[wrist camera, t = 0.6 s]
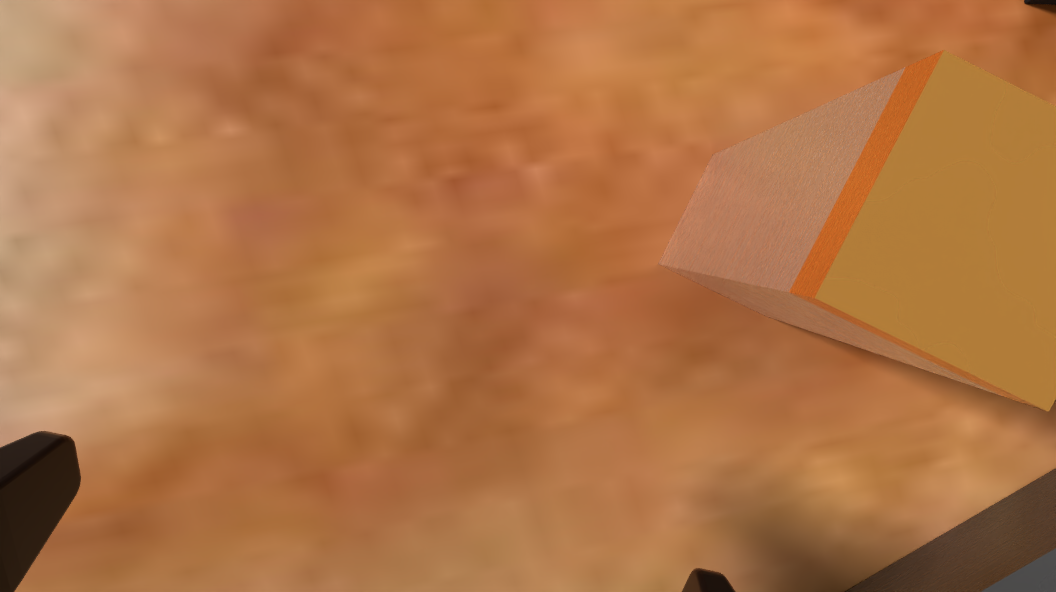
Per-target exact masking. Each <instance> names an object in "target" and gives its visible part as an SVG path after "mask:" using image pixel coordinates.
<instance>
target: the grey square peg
mask: <svg viewBox="0 0 1056 592" xmlns="http://www.w3.org/2000/svg"><path fill="white" fill-rule="evenodd" d="M658 264H659V265H661V266H663V267H665V268H667V269H669V270H671V271H674V272H676V273H678V274H680V275H682V276H684V277H686V278H688V279H690V280H692V281H694V282H696V283H698V284H700V285H702V286H704V287H707V288H709V289H711V290H713V291H715V292H717V293H719V294H721V295H723V296H725V297H727V298H729V299H731V300H733V301H735V302H737V303H740V304H742V305H744V306H746V307H748V308H750V309H752V310H754V311H756V312H758V313H760V314H762V315H764V316H767V317H770V318H773V319H776V320H779V321H782V322H785V323H788V324H791V325H794V326H797V327H800V328H803V329H806V330H809V331H812V332H815V333H817V334H820V335H823V336H826V337H829V338H832V339H835V340H838V341H841V342H844V343H847V344H850V345H853V346H856V347H859V348H862V349H865V350H868V351H871V352H873V353H876V354H879V355H882V356H885V357H888V358H891V359H894V360H897V361H900V362H903V363H906V364H909V365H912V366H915V367H918V368H921V369H924V370H927V371H930V372H932V373H935V374H938V375H941V376H944V377H947V378H950V379H953V380H956V381H959V382H962V383H965V384H968V385H971V386H974V387H977V388H980V389H983V390H986V391H989V392H991V393H994V394H997V395H1000V396H1003V397H1006V398H1009V399H1012V400H1015V401H1018V402H1021V403H1024V404H1027V405H1030V406H1033V407H1036V408H1039V409H1042V410H1045V411H1048V412H1049V410H1050V408H1051V407H1052V405H1053V403H1054V401H1055V400H1056V106H1054V105H1052V104H1050V103H1048V102H1046V101H1044V100H1042V99H1040V98H1038V97H1036V96H1034V95H1032V94H1030V93H1028V92H1026V91H1024V90H1022V89H1020V88H1018V87H1016V86H1015V85H1013V84H1011V83H1009V82H1007V81H1005V80H1003V79H1001V78H999V77H997V76H995V75H993V74H991V73H989V72H987V71H985V70H983V69H981V68H979V67H977V66H975V65H973V64H971V63H969V62H967V61H965V60H963V59H961V58H959V57H957V56H955V55H953V54H951V53H949V52H947V51H945V50H943V51H941V52H938V53H936V54H934V55H932V56H930V57H927V58H925V59H923V60H921V61H919V62H916V63H914V64H912V65H910V66H908V67H905V68H903V69H901V70H899V71H896V72H894V73H892V74H890V75H888V76H885V77H883V78H881V79H879V80H877V81H874V82H872V83H870V84H868V85H866V86H863V87H861V88H859V89H857V90H855V91H852V92H850V93H848V94H846V95H844V96H841V97H839V98H837V99H835V100H833V101H830V102H828V103H826V104H824V105H821V106H819V107H817V108H815V109H813V110H810V111H808V112H806V113H804V114H802V115H799V116H797V117H795V118H793V119H791V120H788V121H786V122H784V123H782V124H780V125H777V126H775V127H773V128H771V129H769V130H766V131H764V132H762V133H760V134H758V135H755V136H753V137H751V138H749V139H746V140H744V141H742V142H740V143H738V144H735V145H733V146H731V147H729V148H727V149H724V150H722V151H720V152H718V153H716V154H713V155H712V157H711V159H710V161H709V163H708V165H707V167H706V169H705V171H704V173H703V175H702V177H701V179H700V181H699V183H698V185H697V187H696V189H695V191H694V193H693V195H692V197H691V199H690V201H689V203H688V205H687V207H686V209H685V211H684V213H683V215H682V217H681V219H680V221H679V223H678V225H677V227H676V229H675V231H674V233H673V235H672V237H671V239H670V241H669V243H668V245H667V247H666V249H665V251H664V253H663V255H662V257H661V259H660V261H659V263H658Z"/></svg>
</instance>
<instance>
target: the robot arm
mask: <svg viewBox="0 0 1056 592" xmlns="http://www.w3.org/2000/svg"><path fill="white" fill-rule="evenodd" d="M80 481H81V475H80V469H79V464H78V458H77V452H76V447H75V443H74V441H73V439H72V438H71V437H69V436H67V435H62V434H57V433H52V432H47V431H40V432H36V433H33V434H31V435H28V436H26V437H24V438H21V439H19V440H17V441H14V442H12V443H10V444H7V445H5V446H3V447H0V592H14V591H15V590H16V588H17V587H18V585H19V584H20V582H21V581H22V579H23V578H24V576H25V575H26V573H27V572H28V570H29V568H30V567H31V565H32V564H33V562H34V561H35V559H36V557H37V556H38V554H39V553H40V551H41V549H42V548H43V546H44V545H45V543H46V542H47V540H48V538H49V537H50V535H51V534H52V532H53V531H54V529H55V527H56V526H57V524H58V523H59V521H60V520H61V518H62V516H63V515H64V513H65V512H66V510H67V508H68V507H69V505H70V504H71V502H72V501H73V499H74V497H75V496H76V494H77V492H78V489H79V486H80ZM682 592H735V590H734V589H733V587H732V586H731V584H730V583H729V581H728V580H727V578H726V577H725V576H724V575H723V574H721V573H719V572H715V571H710V570H705V569H701V568H696V569H694V570H693V571H692V572H691V574H690V576H689V578H688V580H687V582H686V584H685V586H684V588H683V591H682Z"/></svg>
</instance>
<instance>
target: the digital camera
mask: <svg viewBox="0 0 1056 592" xmlns="http://www.w3.org/2000/svg"><path fill="white" fill-rule="evenodd" d="M1024 2H1025V3H1026V4H1051V5H1056V0H1024Z"/></svg>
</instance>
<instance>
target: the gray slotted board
mask: <svg viewBox="0 0 1056 592" xmlns="http://www.w3.org/2000/svg"><path fill="white" fill-rule="evenodd" d="M845 592H1056V469H1054V470H1052V471H1050V472H1049V473H1047V474H1045V475H1044V476H1042V477H1040V478H1038V479H1037V480H1035V481H1033V482H1032V483H1030V484H1028V485H1027V486H1025V487H1023V488H1021V489H1020V490H1018V491H1016V492H1015V493H1013V494H1011V495H1009V496H1008V497H1006V498H1004V499H1003V500H1001V501H999V502H997V503H996V504H994V505H992V506H991V507H989V508H987V509H986V510H984V511H982V512H980V513H979V514H977V515H975V516H974V517H972V518H970V519H968V520H967V521H965V522H963V523H962V524H960V525H958V526H956V527H955V528H953V529H951V530H950V531H948V532H946V533H945V534H943V535H941V536H939V537H938V538H936V539H934V540H933V541H931V542H929V543H927V544H926V545H924V546H922V547H921V548H919V549H917V550H915V551H914V552H912V553H910V554H909V555H907V556H905V557H903V558H902V559H900V560H898V561H897V562H895V563H893V564H892V565H890V566H888V567H886V568H885V569H883V570H881V571H880V572H878V573H876V574H874V575H873V576H871V577H869V578H868V579H866V580H864V581H862V582H861V583H859V584H857V585H856V586H854V587H852V588H851V589H849V590H847V591H845Z"/></svg>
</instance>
